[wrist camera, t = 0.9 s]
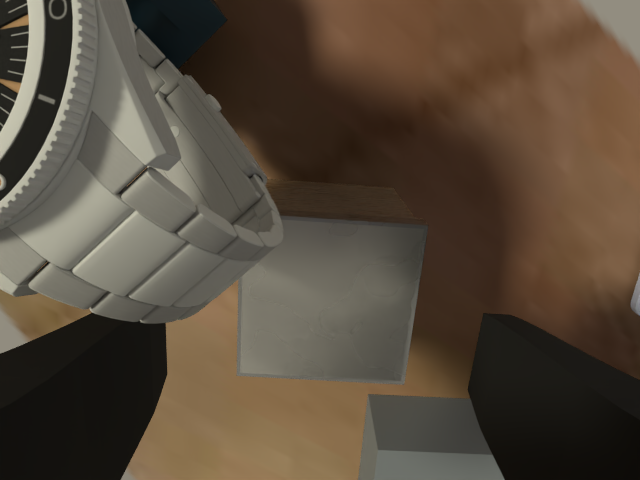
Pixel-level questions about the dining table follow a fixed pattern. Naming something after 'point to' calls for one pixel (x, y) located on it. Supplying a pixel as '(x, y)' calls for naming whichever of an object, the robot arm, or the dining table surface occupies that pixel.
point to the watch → (121, 161)
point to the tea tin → (333, 286)
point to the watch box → (424, 440)
